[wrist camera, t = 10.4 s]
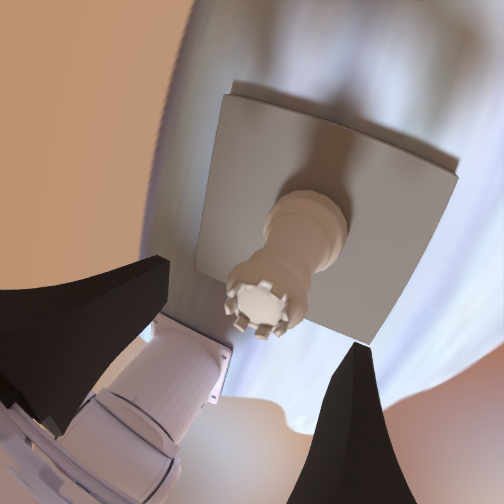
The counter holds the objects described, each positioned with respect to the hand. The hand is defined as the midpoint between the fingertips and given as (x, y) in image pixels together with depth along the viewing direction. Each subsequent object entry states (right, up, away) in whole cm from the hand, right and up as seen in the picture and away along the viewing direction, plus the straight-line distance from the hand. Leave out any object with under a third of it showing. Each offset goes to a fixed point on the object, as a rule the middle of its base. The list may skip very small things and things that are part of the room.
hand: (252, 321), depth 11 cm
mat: (+4, +4, +7) cm, 9 cm away
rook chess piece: (+3, +4, +7) cm, 8 cm away
